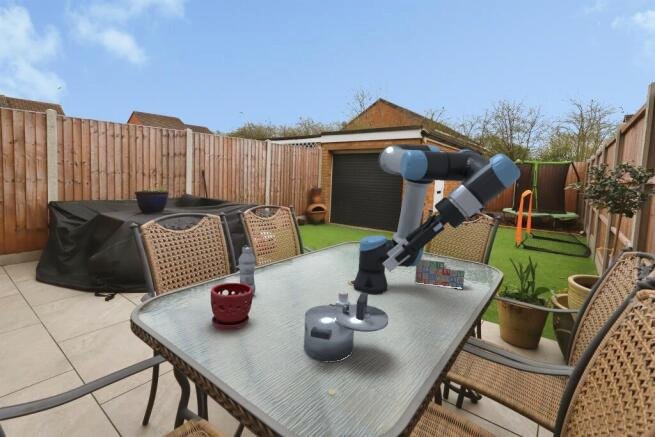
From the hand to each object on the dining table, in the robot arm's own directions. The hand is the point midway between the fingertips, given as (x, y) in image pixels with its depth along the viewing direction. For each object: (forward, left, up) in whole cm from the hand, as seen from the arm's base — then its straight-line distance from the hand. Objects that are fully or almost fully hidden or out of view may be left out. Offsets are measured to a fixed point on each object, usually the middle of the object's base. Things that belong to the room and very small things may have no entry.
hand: (388, 262), depth 85 cm
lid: (+4, -4, -17) cm, 18 cm away
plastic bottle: (+21, -60, -27) cm, 69 cm away
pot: (+11, -11, -27) cm, 31 cm away
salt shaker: (-3, -26, -27) cm, 38 cm away
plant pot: (+32, -38, -27) cm, 56 cm away
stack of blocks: (-64, -38, -28) cm, 80 cm away
